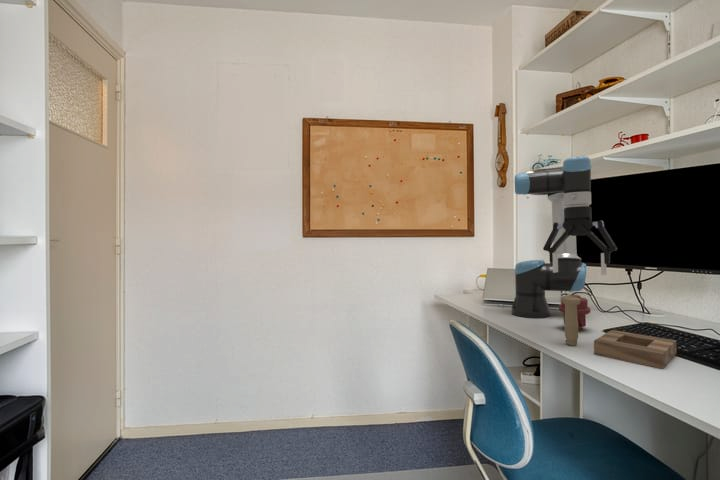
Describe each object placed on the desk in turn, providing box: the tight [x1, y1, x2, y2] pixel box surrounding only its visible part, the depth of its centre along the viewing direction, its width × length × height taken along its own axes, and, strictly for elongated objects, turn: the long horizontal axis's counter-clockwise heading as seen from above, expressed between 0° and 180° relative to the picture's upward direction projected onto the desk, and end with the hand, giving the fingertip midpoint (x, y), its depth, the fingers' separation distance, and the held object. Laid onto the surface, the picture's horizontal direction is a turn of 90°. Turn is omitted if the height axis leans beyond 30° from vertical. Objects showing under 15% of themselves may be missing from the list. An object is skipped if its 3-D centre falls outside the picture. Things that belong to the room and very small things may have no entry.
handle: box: [561, 295, 580, 346], centre depth 117 cm, size 5×6×15 cm
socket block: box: [593, 329, 677, 370], centre depth 107 cm, size 16×16×4 cm
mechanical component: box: [558, 294, 591, 333], centre depth 134 cm, size 12×10×10 cm
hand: (578, 273), depth 116 cm, fingers open, 13 cm apart
